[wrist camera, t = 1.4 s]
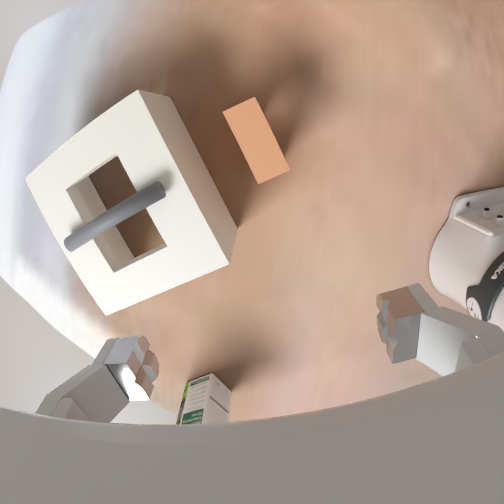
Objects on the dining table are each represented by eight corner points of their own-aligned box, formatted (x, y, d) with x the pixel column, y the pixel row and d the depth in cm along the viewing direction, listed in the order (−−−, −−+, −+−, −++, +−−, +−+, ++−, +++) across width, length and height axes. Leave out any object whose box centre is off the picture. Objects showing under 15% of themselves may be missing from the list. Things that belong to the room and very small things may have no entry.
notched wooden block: (257, 103, 32) (254, 96, 24) (283, 158, 35) (290, 170, 26) (233, 115, 33) (222, 111, 24) (259, 168, 35) (258, 184, 27)
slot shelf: (170, 96, 32) (130, 88, 22) (237, 228, 38) (227, 271, 28) (71, 163, 35) (15, 181, 25) (135, 275, 42) (100, 323, 31)
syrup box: (212, 371, 48) (198, 444, 35) (233, 392, 50) (225, 463, 37) (185, 381, 49) (167, 451, 36) (206, 401, 51) (194, 468, 38)
